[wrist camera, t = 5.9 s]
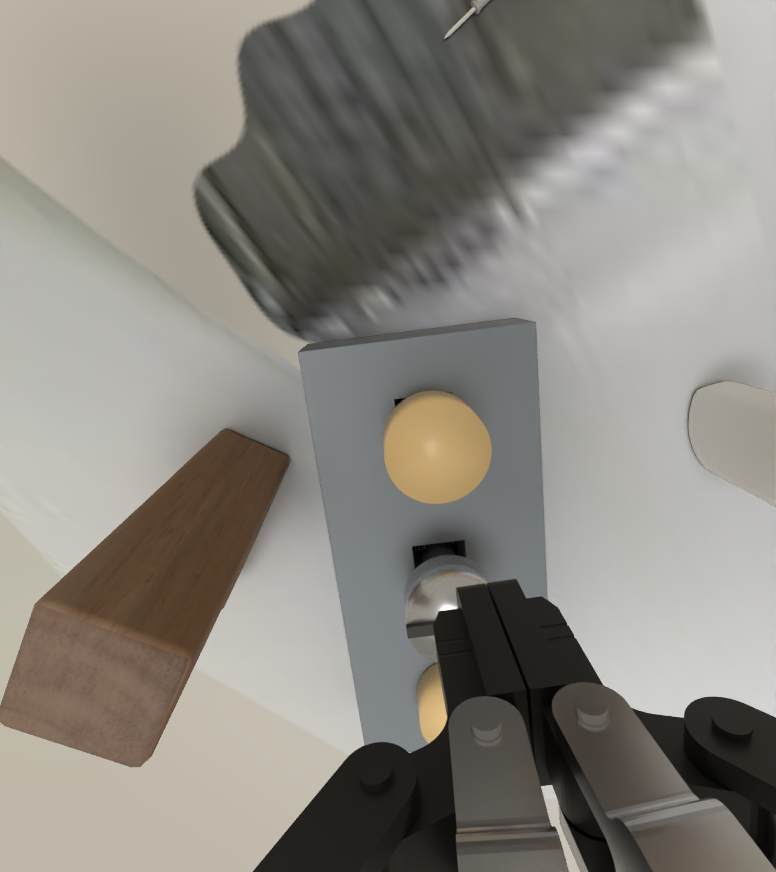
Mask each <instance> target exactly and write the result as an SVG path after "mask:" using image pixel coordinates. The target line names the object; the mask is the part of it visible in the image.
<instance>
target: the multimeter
mask: <svg viewBox="0 0 776 872" xmlns="http://www.w3.org/2000/svg"><path fill="white" fill-rule="evenodd" d="M489 1H490V0H473V1H472V2H471V8H472V9H471V10H470V11H469V12H468V13H467V14H466V15H465V16H464V17H463V18H462V19H461V20H460V21H459V22H457V23H456V24H455V25H454V26H453V27H452V28H451V29H450V30H449V31H448V33H447V34H446V36H445V37H444V39H445V38H447V37H449V36H450V35H451V34H452V33H453V32H454V31H455V30H456V29H457V28H458V27H459V26H460V25H461V24H462V23H464V22H465V21H466V20H467V19H468V18H469V17H470V16H471V15H472V14H473V13H475V14H477V15H478V14H479V13H480V10H481V9H482V8H483V7H484V6H485V5H486V4H487V3H488V2H489ZM444 39H443V40H444Z"/></svg>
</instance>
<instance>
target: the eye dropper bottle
mask: <svg viewBox="0 0 776 872" xmlns="http://www.w3.org/2000/svg"><path fill="white" fill-rule="evenodd" d="M689 436H690V441H691V444H692V447H693V450H694V452H695V454H696V456H697V458H698V460H699V461H700V463H701V464H702V465H703V467H704V468H705V469H706V470H708V471H710V472H711V473H713V474H715V475H717V476H719V477H721V478H722V479H724V480H726V481H728V482H730V483H732V484H734V485H736V486H737V487H739V488H741V489H743V490H745V491H747V492H749V493H751V494H752V495H754V496H756V497H758V498H760V499H762V500H764V501H766V502H768V503H769V504H771V505H773V506H775V507H776V392H772V391H768V390H764V389H760V388H756V387H752V386H748V385H744V384H740V383H736V382H732V381H723V382H719V383H716V384H712V385H709V386H706V387H703V388H701V389H699V390H697V391H696V393H695V394H694V396H693V399H692V403H691V407H690V412H689Z"/></svg>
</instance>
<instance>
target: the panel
mask: <svg viewBox="0 0 776 872" xmlns="http://www.w3.org/2000/svg"><path fill="white" fill-rule="evenodd" d="M298 356H299V361H300V367H301V373H302V379H303V385H304V391H305V397H306V403H307V409H308V415H309V420H310V426H311V432H312V438H313V444H314V450H315V456H316V462H317V468H318V473H319V479H320V485H321V491H322V497H323V503H324V509H325V515H326V521H327V526H328V532H329V538H330V544H331V550H332V556H333V562H334V568H335V574H336V579H337V585H338V591H339V597H340V603H341V609H342V615H343V621H344V626H345V632H346V638H347V644H348V650H349V656H350V662H351V668H352V674H353V679H354V685H355V691H356V697H357V703H358V709H359V715H360V721H361V727H362V732H363V738H364V744H365V745H367V744H371V743H375V742H389V743H393V744H396V745H399V746H400V747H402V748H404V749H405V750H406V751H407V752H413V751H416V750H418V749H420V748H422V747H424V746H426V745H427V744H429V743H428V742H427V741H426V740H425V738H424V737H423V735H422V732H421V728H420V720H419V710H418V701H417V685H418V682H419V680H420V678H421V676H422V675H423V674H424V673H425V671H427V670H428V669H429V668H430V667H431V666H433V665H435V664H437V662H434V661H431V660H429V659H427V658H425V657H424V656H423V655H421V654H420V653H419V652H418V651H417V650H416V649H415V648H414V647H413V645H412V643H411V642H410V640H409V639H408V637H407V629H406V618H405V608H404V596H403V595H404V588H405V584H406V582H407V580H408V578H409V576H410V575H411V573H412V572H413V571H414V570H415V569H416V568H417V567H418V566H419V565H421V564H422V557H417V558H413V551H412V546H420V545H428V544H436V543H444V542H452V541H457V548H458V552H457V553H455V555H457V556H462V557H465V558H468V559H470V560H472V561H474V562H476V563H477V564H478V565H480V566H481V567H482V568H483V569H484V571H485V572H486V573H487V575H488V577H489V579H490V581H491V582H496V581H503V580H509V579H517V581H518V583H519V585H520V587H521V589H522V591H523V593H524V595H525V597H526V598H533V597H540V596H542V597H544V598H545V599H546V600H547V580H546V555H545V531H544V506H543V482H542V457H541V433H540V408H539V384H538V359H537V335H536V322H533V321H528V320H522V319H517V318H511V319H503V320H495V321H487V322H479V323H471V324H463V325H455V326H447V327H439V328H432V329H424V330H416V331H408V332H400V333H392V334H384V335H376V336H368V337H360V338H353V339H345V340H337V341H329V342H321V343H313V344H307V345H306V346H305V347H304V348H302V349H301V350H300V351H299V352H298ZM432 390H435V391H443V392H447V393H450V394H453V395H455V396H457V397H459V398H460V399H462V400H463V401H464V402H465V403H466V404H468V406H469V407H470V408H471V409H472V410H473V412H474V413H475V414H476V415H477V416H478V418H479V419H480V420H481V421H482V422H483V424H484V426H485V427H486V429H487V431H488V434H489V437H490V440H491V447H492V455H491V462H490V465H489V468H488V471H487V473H486V475H485V477H484V478H483V480H482V481H481V482H480V484H479V485H478V486H477V487H476V488H475V489H474V490H473V491H471V492H470V493H469V494H467V495H466V496H464V497H462V498H460V499H458V500H456V501H452V502H449V503H443V504H429V503H423V502H420V501H417V500H414V499H412V498H410V497H409V496H407V495H405V494H404V493H403V492H402V491H400V490H399V489H398V488H397V487H396V486H395V484H394V483H393V481H392V480H391V478H390V476H389V474H388V472H387V469H386V465H385V460H384V445H383V433H384V428H385V424H386V422H387V419H388V417H389V415H390V414H391V412H392V411H393V409H394V408H395V403H394V399H401V398H407V397H409V396H411V395H413V394H416V393H419V392H423V391H432Z"/></svg>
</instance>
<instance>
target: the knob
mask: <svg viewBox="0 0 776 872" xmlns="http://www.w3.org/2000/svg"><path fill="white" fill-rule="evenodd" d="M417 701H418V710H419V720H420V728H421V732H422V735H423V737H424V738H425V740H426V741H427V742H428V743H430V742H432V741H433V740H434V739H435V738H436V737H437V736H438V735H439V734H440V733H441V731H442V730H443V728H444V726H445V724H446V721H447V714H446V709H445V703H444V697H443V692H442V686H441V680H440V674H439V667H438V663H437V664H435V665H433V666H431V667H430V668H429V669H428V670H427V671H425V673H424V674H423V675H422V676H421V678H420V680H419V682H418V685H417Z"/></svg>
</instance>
